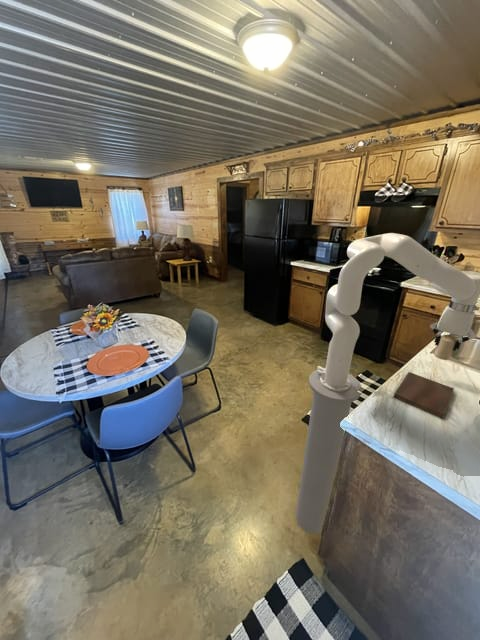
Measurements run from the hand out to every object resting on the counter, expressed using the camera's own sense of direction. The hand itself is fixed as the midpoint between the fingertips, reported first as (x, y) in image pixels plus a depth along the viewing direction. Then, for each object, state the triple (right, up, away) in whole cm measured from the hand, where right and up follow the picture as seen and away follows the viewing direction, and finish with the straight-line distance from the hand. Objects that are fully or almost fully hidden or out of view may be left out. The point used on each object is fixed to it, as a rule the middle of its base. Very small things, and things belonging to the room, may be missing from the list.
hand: (445, 346), depth 109 cm
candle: (0, -5, +2) cm, 5 cm away
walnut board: (-13, -19, -5) cm, 23 cm away
